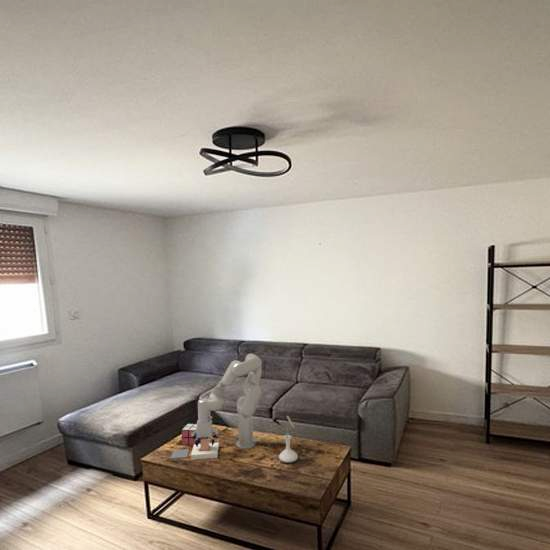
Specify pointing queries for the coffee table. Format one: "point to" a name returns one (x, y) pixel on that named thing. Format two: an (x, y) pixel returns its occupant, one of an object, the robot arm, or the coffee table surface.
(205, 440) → the terracotta block
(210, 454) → the cream pocket board
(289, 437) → the flower in vase
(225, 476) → the coffee table surface
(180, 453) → the slate mat
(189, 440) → the puzzle cube
